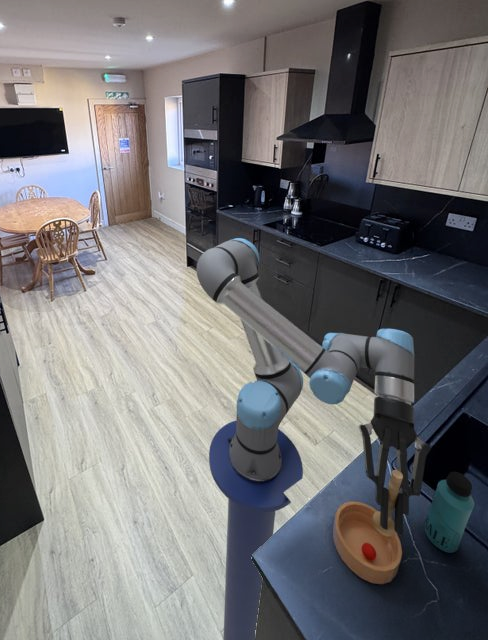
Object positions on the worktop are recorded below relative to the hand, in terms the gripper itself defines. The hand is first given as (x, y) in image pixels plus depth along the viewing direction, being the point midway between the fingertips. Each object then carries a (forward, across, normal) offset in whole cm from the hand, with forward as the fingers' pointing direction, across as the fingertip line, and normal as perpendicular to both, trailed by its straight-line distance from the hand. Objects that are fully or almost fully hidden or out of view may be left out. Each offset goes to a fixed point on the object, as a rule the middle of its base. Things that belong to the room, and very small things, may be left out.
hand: (391, 529), depth 63 cm
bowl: (+8, +2, -15) cm, 17 cm away
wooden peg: (+1, 0, -6) cm, 7 cm away
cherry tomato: (+7, +1, -13) cm, 15 cm away
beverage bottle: (+2, -14, -21) cm, 25 cm away
